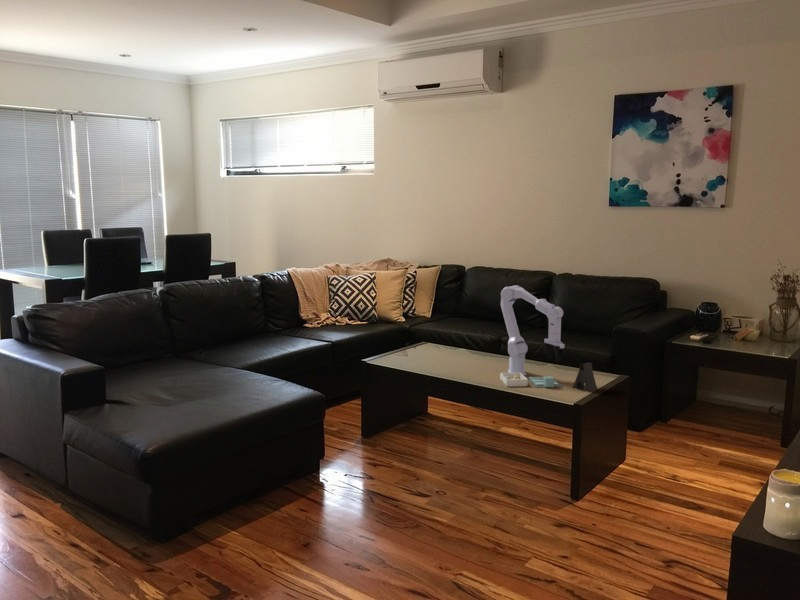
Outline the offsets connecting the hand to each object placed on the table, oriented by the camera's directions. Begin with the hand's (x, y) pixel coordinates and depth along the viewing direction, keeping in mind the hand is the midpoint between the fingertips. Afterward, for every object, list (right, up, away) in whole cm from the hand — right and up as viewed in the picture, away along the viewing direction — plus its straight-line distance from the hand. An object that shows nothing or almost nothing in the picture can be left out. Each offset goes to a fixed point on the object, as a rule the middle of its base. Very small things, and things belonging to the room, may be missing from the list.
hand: (553, 360), depth 323 cm
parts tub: (-20, -10, -3) cm, 22 cm away
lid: (-5, -10, -3) cm, 12 cm away
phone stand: (+11, -12, -14) cm, 21 cm away
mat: (-5, -10, -2) cm, 12 cm away
